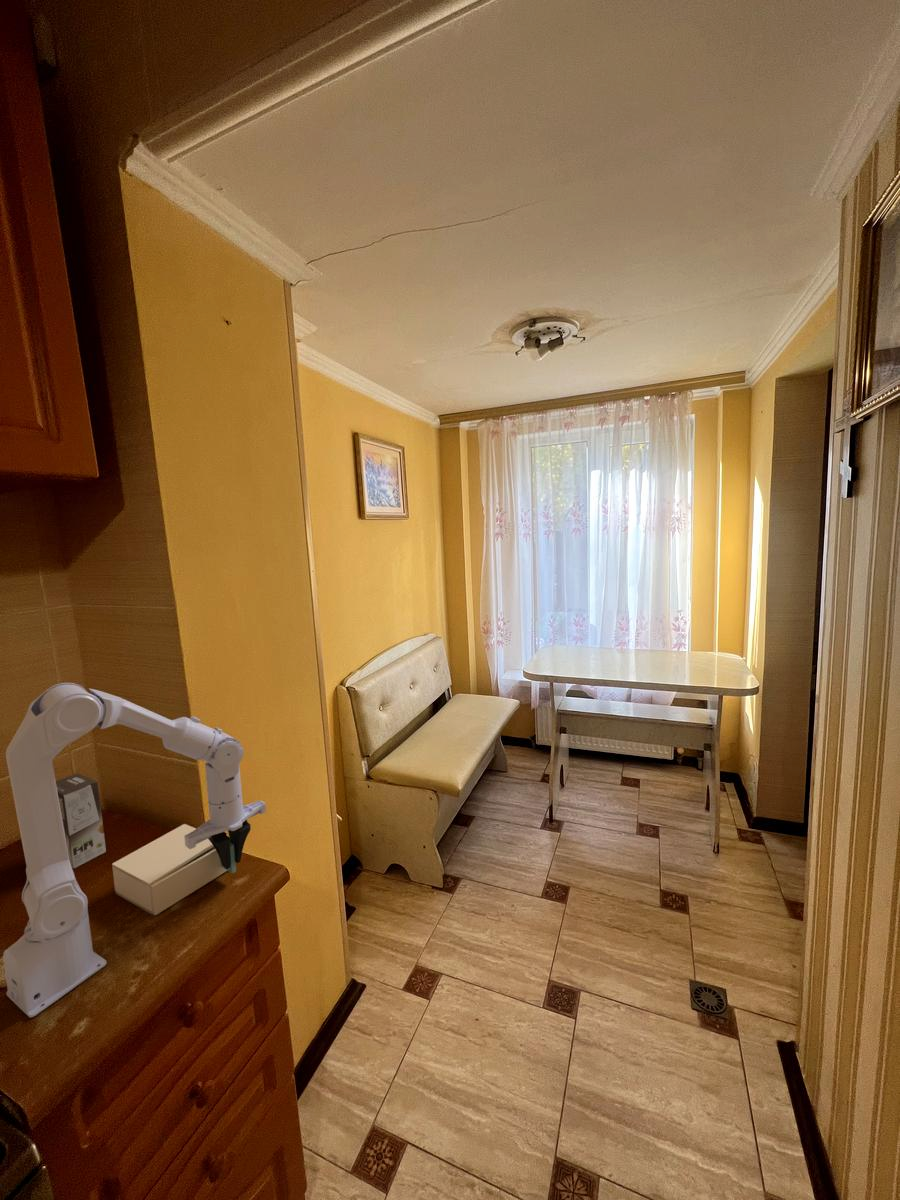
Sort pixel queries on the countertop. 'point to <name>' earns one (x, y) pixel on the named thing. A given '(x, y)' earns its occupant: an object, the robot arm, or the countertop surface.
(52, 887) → the robot arm
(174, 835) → the carton
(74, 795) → the coffee box
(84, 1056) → the countertop surface
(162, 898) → the flap
